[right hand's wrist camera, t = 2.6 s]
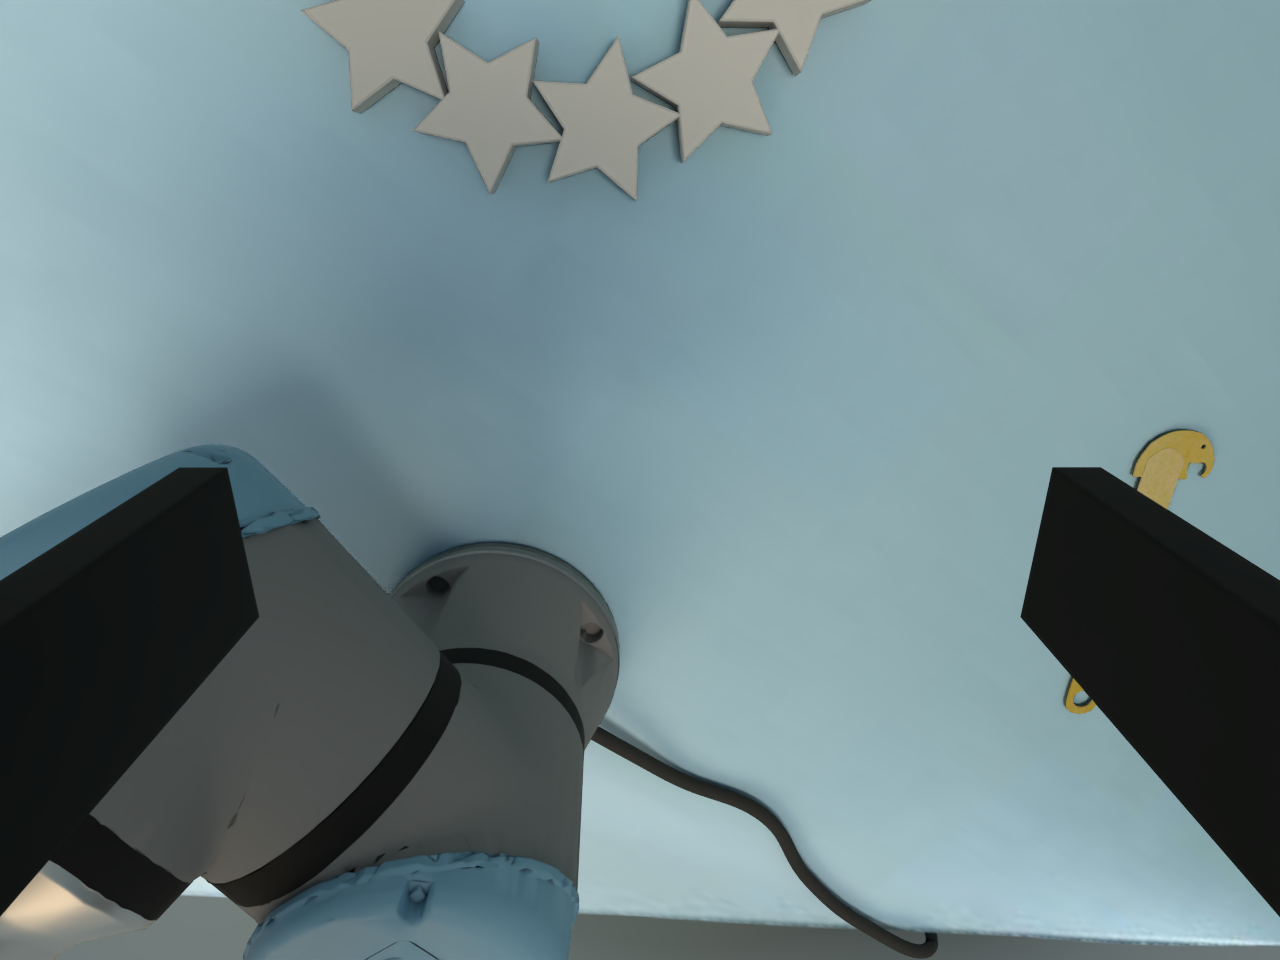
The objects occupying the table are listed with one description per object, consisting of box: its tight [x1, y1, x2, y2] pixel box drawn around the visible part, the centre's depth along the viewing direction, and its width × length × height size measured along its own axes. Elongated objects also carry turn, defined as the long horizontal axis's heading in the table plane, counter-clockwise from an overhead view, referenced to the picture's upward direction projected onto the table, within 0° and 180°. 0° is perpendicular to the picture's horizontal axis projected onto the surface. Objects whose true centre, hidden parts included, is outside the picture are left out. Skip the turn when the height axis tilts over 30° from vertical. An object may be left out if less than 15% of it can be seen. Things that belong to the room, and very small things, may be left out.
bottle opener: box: [1066, 430, 1214, 714], centre depth 48 cm, size 5×1×20 cm
